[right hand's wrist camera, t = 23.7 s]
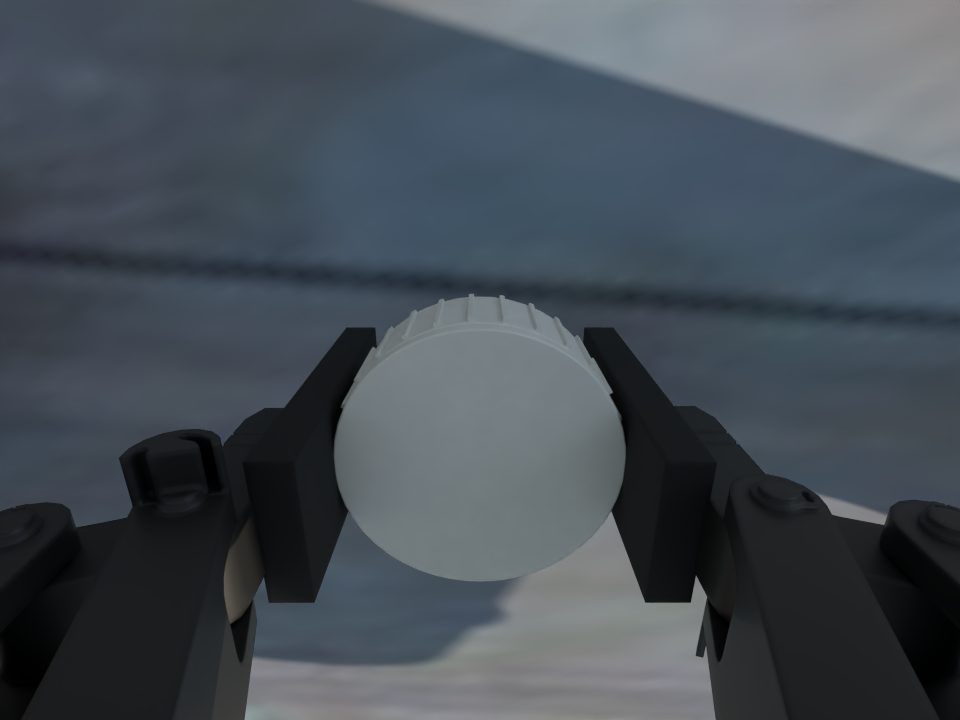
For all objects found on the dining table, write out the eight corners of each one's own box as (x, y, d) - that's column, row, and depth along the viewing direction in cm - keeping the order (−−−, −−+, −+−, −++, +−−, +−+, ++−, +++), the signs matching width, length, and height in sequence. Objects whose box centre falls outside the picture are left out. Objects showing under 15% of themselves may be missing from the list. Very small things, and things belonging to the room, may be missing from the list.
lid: (591, 271, 11) (618, 299, 9) (613, 497, 13) (640, 564, 11) (326, 316, 11) (290, 354, 9) (388, 529, 13) (370, 601, 11)
